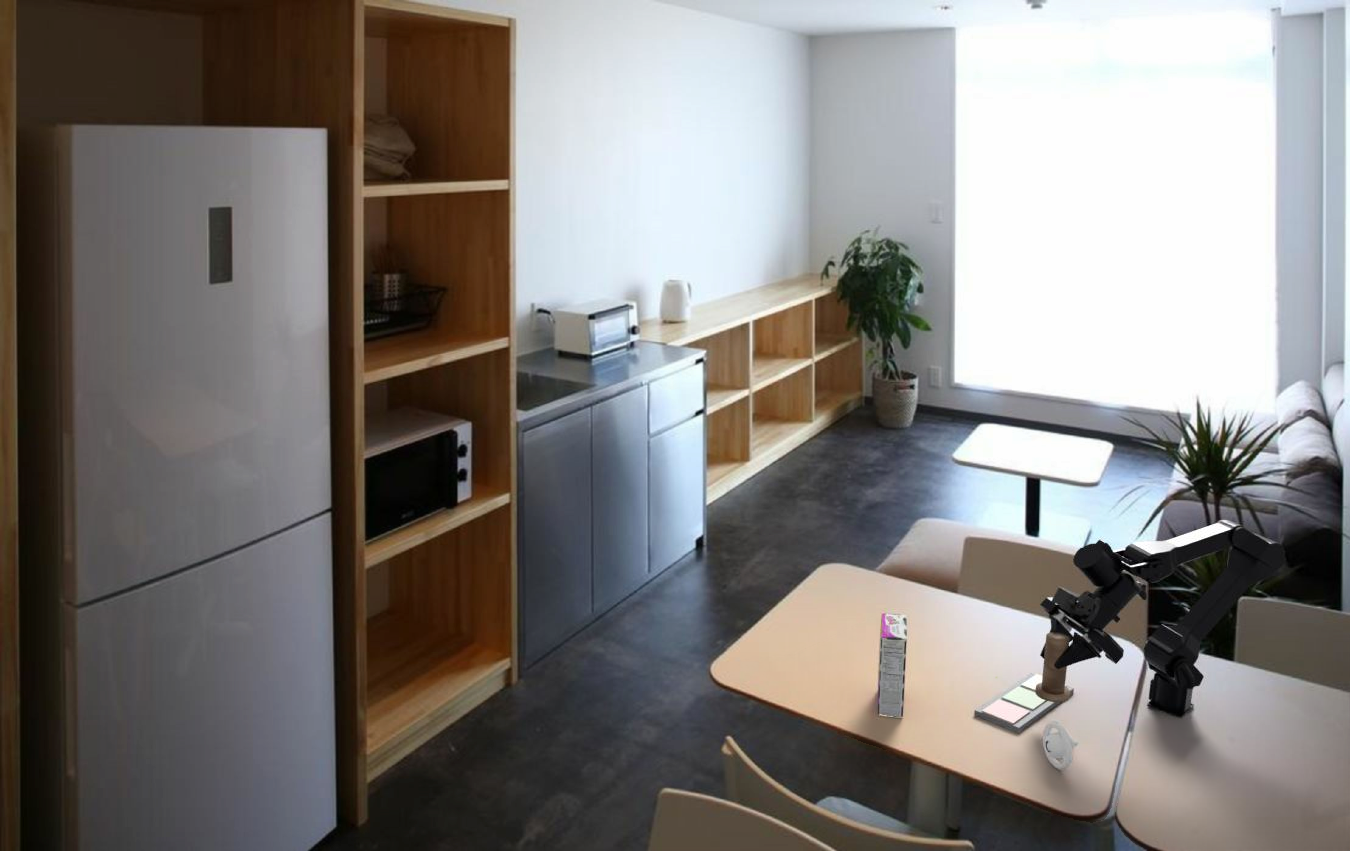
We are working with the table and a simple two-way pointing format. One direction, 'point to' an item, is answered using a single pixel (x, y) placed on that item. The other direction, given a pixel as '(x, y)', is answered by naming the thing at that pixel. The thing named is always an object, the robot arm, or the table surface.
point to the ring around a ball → (1058, 745)
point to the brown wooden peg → (1054, 670)
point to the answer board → (1017, 705)
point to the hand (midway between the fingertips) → (1048, 662)
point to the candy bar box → (892, 664)
